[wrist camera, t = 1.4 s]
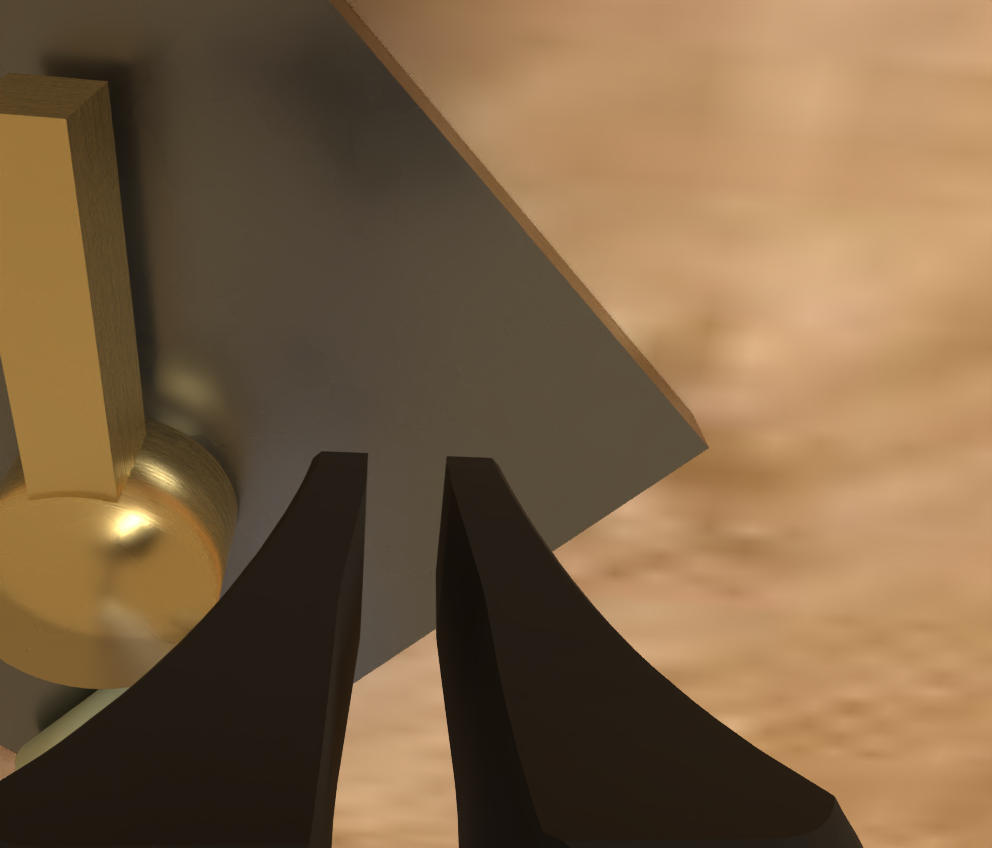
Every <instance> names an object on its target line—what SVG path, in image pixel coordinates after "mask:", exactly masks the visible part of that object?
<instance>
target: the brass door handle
mask: <svg viewBox="0 0 992 848" xmlns="http://www.w3.org/2000/svg"><path fill="white" fill-rule="evenodd" d="M0 355H1V360H2V365H3V371H4V376H5V381H6V386H7V391H8V396H9V401H10V406H11V411H12V416H13V421H14V426H15V431H16V437H17V442H18V447H19V452H20V453H19V454H18V456H17V457H16V459H15V461H14V462H13V464H12V466H11V467H10V469H9V471H8V472H7V474H6V476H5V477H4V479H3V481H2V482H1V484H0V659H1V660H3V661H4V662H6V663H7V664H9V665H11V666H13V667H15V668H17V669H19V670H20V671H22V672H25V673H27V674H30V675H32V676H34V677H37V678H40V679H43V680H46V681H49V682H53V683H57V684H61V685H66V686H71V687H79V688H88V689H118V688H126V687H131V686H132V685H133V684H135V683H136V682H137V681H138V680H139V679H140V678H141V677H143V676H144V675H145V674H146V673H147V672H148V671H149V670H150V669H151V668H152V667H154V666H155V665H156V664H157V663H158V662H159V661H160V660H161V659H162V658H163V657H164V656H165V655H166V654H167V653H169V652H170V651H171V650H172V649H173V648H174V647H175V646H176V645H177V644H178V643H179V642H180V641H181V640H182V639H183V638H184V637H185V636H186V635H187V634H188V633H189V632H190V631H191V630H192V629H193V628H194V627H195V626H196V625H197V624H198V623H199V622H200V621H201V620H202V619H203V618H204V616H205V615H206V614H207V613H208V612H209V611H210V610H211V609H212V608H213V607H214V605H215V604H216V603H217V602H218V601H219V597H220V593H221V589H222V584H223V580H224V576H225V571H226V567H227V563H228V559H229V554H230V550H231V546H232V542H233V537H234V533H235V529H236V524H237V515H238V507H237V500H236V495H235V492H234V489H233V486H232V484H231V482H230V480H229V477H228V475H227V474H226V472H225V471H224V469H223V468H222V466H221V465H220V464H219V462H218V461H217V460H216V459H215V458H214V457H213V456H212V454H211V453H209V452H208V451H207V450H206V449H205V448H204V447H203V446H202V445H201V444H199V443H198V442H196V441H195V440H194V439H192V438H191V437H189V436H188V435H186V434H184V433H182V432H181V431H179V430H177V429H175V428H173V427H171V426H168V425H166V424H163V423H161V422H158V421H155V420H152V419H148V418H145V416H144V407H143V397H142V388H141V379H140V370H139V361H138V352H137V342H136V333H135V324H134V315H133V306H132V297H131V287H130V278H129V269H128V260H127V251H126V242H125V232H124V223H123V214H122V205H121V196H120V187H119V177H118V168H117V159H116V150H115V141H114V132H113V122H112V113H111V104H110V95H109V86H108V81H100V80H88V79H76V78H65V77H53V76H42V75H30V74H19V73H8V74H6V75H5V76H3V77H2V78H0Z"/></svg>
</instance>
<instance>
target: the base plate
mask: <svg viewBox="0 0 992 848" xmlns="http://www.w3.org/2000/svg"><path fill="white" fill-rule="evenodd" d="M8 73H19V74H30V75H42V76H53V77H65V78H76V79H88V80H100V81H108V86H109V95H110V104H111V113H112V122H113V132H114V141H115V150H116V159H117V168H118V177H119V187H120V196H121V205H122V214H123V223H124V232H125V242H126V251H127V260H128V269H129V278H130V287H131V297H132V306H133V315H134V324H135V333H136V342H137V352H138V361H139V370H140V379H141V388H142V397H143V407H144V416H145V418H148V419H152V420H155V421H158V422H161V423H163V424H166V425H168V426H171V427H173V428H175V429H177V430H179V431H181V432H182V433H184V434H186V435H188V436H189V437H191V438H192V439H194V440H195V441H196V442H198V443H199V444H201V445H202V446H203V447H204V448H205V449H206V450H207V451H208V452H209V453H211V454H212V456H213V457H214V458H215V459H216V460H217V461H218V462H219V464H220V465H221V466H222V468H223V469H224V471H225V472H226V474H227V475H228V477H229V480H230V482H231V484H232V486H233V489H234V492H235V495H236V500H237V507H238V515H237V524H236V529H235V533H234V537H233V542H232V546H231V550H230V554H229V559H228V563H227V567H226V571H225V576H224V580H223V584H222V589H221V593H220V597H219V600H220V599H221V597H222V596H223V595H224V594H225V593H226V592H227V590H228V589H229V588H230V587H231V585H232V584H233V583H234V582H235V580H236V579H237V578H238V577H239V575H240V574H241V573H242V571H243V570H244V569H245V568H246V566H247V565H248V564H249V563H250V561H251V560H252V559H253V557H254V556H255V555H256V554H257V552H258V551H259V550H260V548H261V547H262V545H263V544H264V543H265V541H266V540H267V538H268V537H269V535H270V534H271V532H272V531H273V529H274V528H275V526H276V525H277V523H278V522H279V520H280V519H281V517H282V516H283V514H284V513H285V511H286V510H287V508H288V506H289V504H290V503H291V501H292V499H293V498H294V496H295V494H296V493H297V491H298V489H299V487H300V485H301V484H302V482H303V480H304V478H305V476H306V473H307V471H308V469H309V467H310V464H311V462H312V459H313V458H314V457H315V456H316V455H317V454H319V453H320V452H321V451H332V452H357V453H368V471H367V496H366V520H365V545H364V570H363V590H362V611H361V631H360V642H359V648H358V655H357V661H356V668H355V674H354V681H353V683H355V682H356V681H358V680H359V679H361V678H362V677H364V676H365V675H367V674H368V673H370V672H371V671H373V670H374V669H376V668H377V667H379V666H380V665H382V664H383V663H385V662H386V661H388V660H389V659H391V658H392V657H394V656H395V655H397V654H399V653H400V652H402V651H403V650H405V649H406V648H408V647H409V646H411V645H412V644H414V643H415V642H417V641H418V640H420V639H421V638H423V637H424V636H426V635H427V634H429V633H430V632H432V631H433V630H435V629H436V564H437V553H438V542H439V532H440V521H441V510H442V500H443V489H444V479H445V468H446V457H447V456H457V457H483V458H493V460H494V461H495V462H496V463H497V464H498V465H499V467H500V469H501V471H502V473H503V474H504V476H505V478H506V480H507V482H508V484H509V486H510V487H511V489H512V491H513V493H514V494H515V496H516V498H517V499H518V501H519V503H520V504H521V506H522V508H523V509H524V511H525V513H526V514H527V516H528V517H529V519H530V521H531V522H532V524H533V525H534V527H535V528H536V530H537V531H538V533H539V534H540V536H541V537H542V538H543V540H544V541H545V543H546V544H547V546H548V547H549V548H550V550H551V551H554V550H555V549H557V548H558V547H560V546H561V545H563V544H564V543H566V542H568V541H569V540H571V539H572V538H574V537H575V536H577V535H578V534H580V533H581V532H583V531H584V530H586V529H587V528H589V527H590V526H592V525H593V524H595V523H596V522H598V521H599V520H601V519H602V518H604V517H605V516H607V515H608V514H610V513H611V512H613V511H614V510H616V509H617V508H619V507H620V506H622V505H623V504H625V503H626V502H628V501H629V500H631V499H632V498H634V497H635V496H637V495H638V494H640V493H641V492H643V491H644V490H646V489H647V488H649V487H650V486H652V485H654V484H655V483H657V482H658V481H660V480H661V479H663V478H664V477H666V476H667V475H669V474H670V473H672V472H673V471H675V470H676V469H678V468H679V467H681V466H682V465H684V464H685V463H687V462H688V461H690V460H691V459H693V458H694V457H696V456H697V455H699V454H700V453H702V452H703V451H705V450H706V449H708V448H709V447H708V445H707V443H706V441H705V439H704V437H703V435H702V432H701V430H700V428H699V426H698V424H697V422H696V420H695V418H694V416H693V414H692V413H691V412H690V410H689V409H688V408H687V407H686V406H685V404H684V403H683V402H682V401H681V400H680V399H679V397H678V396H677V395H676V394H675V393H674V391H673V390H672V389H671V388H670V387H669V385H668V384H667V383H666V382H665V381H664V379H663V378H662V377H661V376H660V375H659V374H658V372H657V371H656V370H655V369H654V368H653V366H652V365H651V364H650V363H649V362H648V360H647V359H646V358H645V357H644V356H643V354H642V353H641V352H640V351H639V350H638V349H637V347H636V346H635V345H634V344H633V343H632V341H631V340H630V339H629V338H628V337H627V335H626V334H625V333H624V332H623V331H622V329H621V328H620V327H619V326H618V325H617V324H616V322H615V321H614V320H613V319H612V318H611V316H610V315H609V314H608V313H607V312H606V310H605V309H604V308H603V307H602V306H601V304H600V303H599V302H598V301H597V300H596V298H595V297H594V296H593V295H592V294H591V293H590V291H589V290H588V289H587V288H586V287H585V285H584V284H583V283H582V282H581V281H580V279H579V278H578V277H577V276H576V275H575V273H574V272H573V271H572V270H571V269H570V268H569V266H568V265H567V264H566V263H565V262H564V260H563V259H562V258H561V257H560V256H559V254H558V253H557V252H556V251H555V250H554V248H553V247H552V246H551V245H550V244H549V243H548V241H547V240H546V239H545V238H544V237H543V235H542V234H541V233H540V232H539V231H538V229H537V228H536V227H535V226H534V225H533V223H532V222H531V221H530V220H529V219H528V218H527V216H526V215H525V214H524V213H523V212H522V210H521V209H520V208H519V207H518V206H517V204H516V203H515V202H514V201H513V200H512V198H511V197H510V196H509V195H508V194H507V192H506V191H505V190H504V189H503V188H502V187H501V185H500V184H499V183H498V182H497V181H496V179H495V178H494V177H493V176H492V175H491V173H490V172H489V171H488V170H487V169H486V167H485V166H484V165H483V164H482V163H481V162H480V160H479V159H478V158H477V157H476V156H475V154H474V153H473V152H472V151H471V150H470V148H469V147H468V146H467V145H466V144H465V142H464V141H463V140H462V139H461V138H460V137H459V135H458V134H457V133H456V132H455V131H454V129H453V128H452V127H451V126H450V125H449V123H448V122H447V121H446V120H445V119H444V117H443V116H442V115H441V114H440V113H439V112H438V110H437V109H436V108H435V107H434V106H433V104H432V103H431V102H430V101H429V100H428V98H427V97H426V96H425V95H424V94H423V92H422V91H421V90H420V89H419V88H418V86H417V85H416V84H415V83H414V82H413V81H412V79H411V78H410V77H409V76H408V75H407V73H406V72H405V71H404V70H403V69H402V67H401V66H400V65H399V64H398V63H397V61H396V60H395V59H394V58H393V57H392V56H391V54H390V53H389V52H388V51H387V50H386V48H385V47H384V46H383V45H382V44H381V42H380V41H379V40H378V39H377V38H376V36H375V35H374V34H373V33H372V32H371V31H370V29H369V28H368V27H367V26H366V25H365V23H364V22H363V21H362V20H361V19H360V17H359V16H358V15H357V14H356V13H355V11H354V10H353V9H352V8H351V7H350V6H349V4H348V3H347V2H346V1H345V0H0V78H2V77H3V76H5V75H6V74H8ZM19 453H20V452H19V447H18V442H17V437H16V431H15V426H14V421H13V416H12V411H11V406H10V401H9V396H8V391H7V386H6V381H5V376H4V371H3V365H2V360H1V355H0V484H1V482H2V481H3V479H4V477H5V476H6V474H7V472H8V471H9V469H10V467H11V466H12V464H13V462H14V461H15V459H16V457H17V456H18V454H19ZM129 688H130V687H126V688H118V689H88V688H79V687H71V686H66V685H61V684H57V683H53V682H49V681H46V680H43V679H40V678H37V677H34V676H32V675H30V674H27V673H25V672H22V671H20V670H19V669H17V668H15V667H13V666H11V665H9V664H7V663H6V662H4V661H3V660H1V659H0V745H2V746H4V747H6V748H7V749H9V750H11V751H13V752H15V753H17V756H16V759H15V770H16V771H17V770H18V769H20V768H21V767H23V766H24V765H26V764H28V763H29V762H31V761H32V760H34V759H35V758H37V757H39V756H40V755H42V754H43V753H45V752H46V751H48V750H49V749H50V748H52V747H53V746H55V745H56V744H58V743H59V742H60V741H62V740H63V739H65V738H66V737H67V736H68V735H70V734H71V733H72V732H74V731H75V730H76V729H78V728H79V727H80V726H81V725H83V724H84V723H85V722H87V721H88V720H89V719H90V718H92V717H93V716H94V715H96V714H97V713H98V712H100V711H101V710H102V709H103V708H105V707H106V706H107V705H109V704H110V703H111V702H113V701H114V700H115V699H116V698H118V697H119V696H120V695H122V694H123V693H124V692H125V691H126V690H127V689H129Z"/></svg>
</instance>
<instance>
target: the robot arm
mask: <svg viewBox="0 0 992 848" xmlns="http://www.w3.org/2000/svg"><path fill="white" fill-rule="evenodd" d="M367 471H368V453H357V452H332V451H321V452H320V453H319V454H317V455H316V456H315V457H314V458H313V459H312V462H311V464H310V467H309V469H308V471H307V473H306V476H305V478H304V480H303V482H302V484H301V485H300V487H299V489H298V491H297V493H296V494H295V496H294V498H293V499H292V501H291V503H290V504H289V506H288V508H287V510H286V511H285V513H284V514H283V516H282V517H281V519H280V520H279V522H278V523H277V525H276V526H275V528H274V529H273V531H272V532H271V534H270V535H269V537H268V538H267V540H266V541H265V543H264V544H263V545H262V547H261V548H260V550H259V551H258V552H257V554H256V555H255V556H254V557H253V559H252V560H251V561H250V563H249V564H248V565H247V566H246V568H245V569H244V570H243V571H242V573H241V574H240V575H239V577H238V578H237V579H236V580H235V582H234V583H233V584H232V585H231V587H230V588H229V589H228V590H227V592H226V593H225V594H224V595H223V596H222V597H221V599H220V600H219V601H218V602H217V603H216V604H215V605H214V607H213V608H212V609H211V610H210V611H209V612H208V613H207V614H206V615H205V616H204V618H203V619H202V620H201V621H200V622H199V623H198V624H197V625H196V626H195V627H194V628H193V629H192V630H191V631H190V632H189V633H188V634H187V635H186V636H185V637H184V638H183V639H182V640H181V641H180V642H179V643H178V644H177V645H176V646H175V647H174V648H173V649H172V650H171V651H170V652H169V653H167V654H166V655H165V656H164V657H163V658H162V659H161V660H160V661H159V662H158V663H157V664H156V665H155V666H154V667H152V668H151V669H150V670H149V671H148V672H147V673H146V674H145V675H144V676H143V677H141V678H140V679H139V680H138V681H137V682H136V683H135V684H133V685H132V686H131V687H130V688H129V689H127V690H126V691H125V692H124V693H123V694H122V695H120V696H119V697H118V698H116V699H115V700H114V701H113V702H111V703H110V704H109V705H107V706H106V707H105V708H103V709H102V710H101V711H100V712H98V713H97V714H96V715H94V716H93V717H92V718H90V719H89V720H88V721H87V722H85V723H84V724H83V725H81V726H80V727H79V728H78V729H76V730H75V731H74V732H72V733H71V734H70V735H68V736H67V737H66V738H65V739H63V740H62V741H60V742H59V743H58V744H56V745H55V746H53V747H52V748H50V749H49V750H48V751H46V752H45V753H43V754H42V755H40V756H39V757H37V758H35V759H34V760H32V761H31V762H29V763H28V764H26V765H24V766H23V767H21V768H20V769H18V770H17V771H15V772H13V773H12V774H10V775H9V776H7V777H6V778H4V779H2V780H1V781H0V848H331V846H332V830H333V816H334V807H335V798H336V790H337V782H338V776H339V769H340V763H341V757H342V750H343V744H344V738H345V731H346V725H347V719H348V712H349V706H350V700H351V693H352V687H353V681H354V674H355V668H356V661H357V655H358V648H359V642H360V631H361V611H362V590H363V570H364V545H365V520H366V496H367ZM436 639H437V648H438V656H439V664H440V672H441V679H442V687H443V695H444V703H445V710H446V718H447V726H448V733H449V741H450V749H451V756H452V764H453V772H454V780H455V789H456V801H457V812H458V836H459V848H863V846H862V844H861V842H860V840H859V838H858V836H857V835H856V833H855V831H854V830H853V828H852V826H851V825H850V823H849V821H848V820H847V818H846V816H845V815H844V813H843V811H842V809H841V807H840V806H839V804H838V802H837V800H836V798H835V797H834V796H833V795H832V794H830V793H829V792H827V791H825V790H824V789H822V788H820V787H819V786H817V785H816V784H814V783H812V782H811V781H809V780H807V779H806V778H804V777H803V776H801V775H799V774H798V773H796V772H795V771H793V770H791V769H790V768H788V767H786V766H785V765H783V764H782V763H780V762H778V761H777V760H775V759H773V758H772V757H770V756H769V755H767V754H765V753H764V752H762V751H761V750H759V749H758V748H756V747H755V746H753V745H752V744H750V743H749V742H748V741H746V740H745V739H744V738H742V737H741V736H739V735H738V734H737V733H735V732H734V731H732V730H731V729H730V728H728V727H727V726H725V725H724V724H723V723H721V722H720V721H718V720H717V719H716V718H714V717H713V716H712V715H710V714H709V713H708V712H707V711H705V710H704V709H703V708H701V707H700V706H699V705H698V704H696V703H695V702H694V701H692V700H691V699H690V698H689V697H688V696H687V695H685V694H684V693H683V692H682V691H681V690H680V689H678V688H677V687H676V686H675V685H674V684H672V683H671V682H670V681H669V680H668V679H667V678H665V677H664V676H663V675H662V674H661V673H660V672H658V671H657V670H656V669H655V668H654V667H652V666H651V665H650V664H649V663H648V662H647V661H646V660H645V659H644V658H643V657H642V656H641V655H640V654H639V653H638V652H637V651H635V650H634V649H633V648H632V646H631V645H630V644H629V643H628V642H627V641H626V640H625V639H624V638H623V637H622V636H621V635H620V634H619V633H618V632H617V631H616V630H615V629H614V628H613V627H612V626H611V625H610V623H609V622H608V621H607V620H606V619H605V618H604V617H603V616H602V615H601V613H600V612H599V611H598V610H597V609H596V608H595V607H594V605H593V604H592V603H591V602H590V601H589V599H588V598H587V597H586V596H585V594H584V593H583V592H582V591H581V590H580V588H579V587H578V586H577V585H576V583H575V582H574V581H573V580H572V578H571V577H570V576H569V574H568V573H567V572H566V570H565V569H564V568H563V567H562V565H561V564H560V563H559V561H558V560H557V558H556V557H555V556H554V554H553V553H552V551H551V550H550V548H549V547H548V546H547V544H546V543H545V541H544V540H543V538H542V537H541V536H540V534H539V533H538V531H537V530H536V528H535V527H534V525H533V524H532V522H531V521H530V519H529V517H528V516H527V514H526V513H525V511H524V509H523V508H522V506H521V504H520V503H519V501H518V499H517V498H516V496H515V494H514V493H513V491H512V489H511V487H510V486H509V484H508V482H507V480H506V478H505V476H504V474H503V473H502V471H501V469H500V467H499V465H498V464H497V463H496V462H495V461H494V460H493V458H483V457H457V456H447V457H446V468H445V479H444V489H443V500H442V510H441V521H440V532H439V542H438V553H437V564H436Z"/></svg>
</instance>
